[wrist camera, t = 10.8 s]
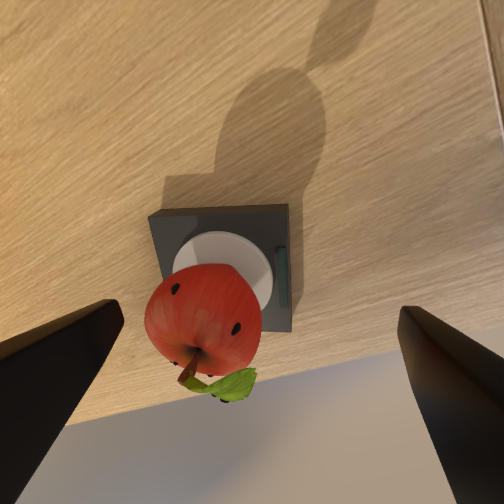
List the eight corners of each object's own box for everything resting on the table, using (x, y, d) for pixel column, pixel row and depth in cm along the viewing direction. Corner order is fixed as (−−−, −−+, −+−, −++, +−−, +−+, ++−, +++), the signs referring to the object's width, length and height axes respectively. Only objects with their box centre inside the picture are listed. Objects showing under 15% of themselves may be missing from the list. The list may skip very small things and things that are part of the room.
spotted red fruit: (230, 335, 22) (183, 477, 13) (162, 284, 21) (60, 400, 12) (296, 277, 19) (292, 410, 10) (219, 213, 18) (138, 299, 9)
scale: (288, 203, 20) (286, 214, 17) (292, 317, 24) (291, 337, 21) (160, 209, 21) (142, 219, 19) (183, 313, 25) (171, 332, 23)
